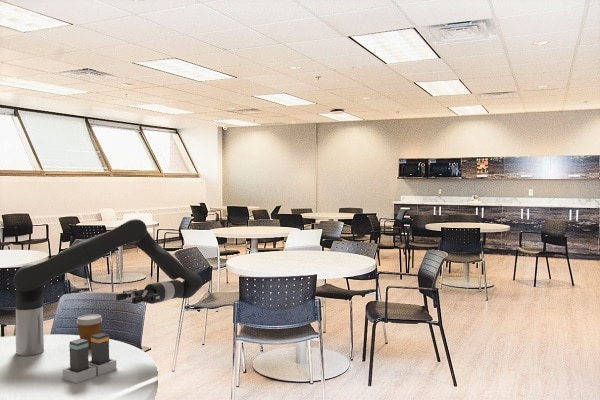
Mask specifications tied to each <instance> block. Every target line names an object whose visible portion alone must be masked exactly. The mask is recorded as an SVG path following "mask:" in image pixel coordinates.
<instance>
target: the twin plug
mask: <svg viewBox="0 0 600 400" xmlns="http://www.w3.org/2000/svg"><path fill="white" fill-rule="evenodd" d="M68 346H69V367H70V371H73V372H76V373H78V372H81V371H83V370H86V369H89V361H90V360H89V350H88V340H84V339H80V338H77V339H75V340H72V341H71V340H70V341H69V345H68Z"/></svg>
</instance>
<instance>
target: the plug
mask: <svg viewBox="0 0 600 400" xmlns="http://www.w3.org/2000/svg"><path fill="white" fill-rule="evenodd" d="M90 350H91V351H90V352H91V355H90V357H91V360H92V363H93V364H96V365H101V364H104V363H107V362H109V358H110V334H108V333H105V332H100V333H98V334H94V335H91V349H90Z"/></svg>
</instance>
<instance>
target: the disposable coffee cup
mask: <svg viewBox="0 0 600 400" xmlns="http://www.w3.org/2000/svg"><path fill="white" fill-rule="evenodd" d="M102 321H103V318H102V315H101V314H96V313H93V314H92V313H88V314H84V315H79V316H78V317H77V320H76V324H77V327H78V334H79V339H84V340H88V351H89V350H91V335H94V334H98V333H101V328H102Z"/></svg>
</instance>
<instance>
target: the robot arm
mask: <svg viewBox="0 0 600 400" xmlns="http://www.w3.org/2000/svg"><path fill="white" fill-rule="evenodd" d="M130 243H131V244H132V245H134V247H137V248H139V249H140V250H141V251H142V252H144V254H145V255H146V256H148V257H149V258H150V259H151V260H152V262H153V263H154V264H155V265H156V266H157V267H158V268H159V269H160V270H161V271H162V272H163V273H164V274H165V275H166V276H168V278H169V279H171V280H166V281H159V282H153V283H147V284H146V285H145V287H144V288H140V289H137V288H134V289H128V290H123V291H122V293H117V294H116V298H115V299H116V301H118V302H119V301H123V300H131V304H133V305H135V304H140V303H142V304H145V303H146V304H151V305H154V304H157V303H162V302H166V301H170V300H174V299H184V300H186V299H189V298H191V297H193V296H194V295H196V293H197V292H198V291H200V289H202V287H203V280H202V277H201V276H200V275H199V274H198V273H196V272H195V271H192V270H190V269H189V268H187V267H185V266H184V265H183V264H182V263H181V262H180V261H178V260H177V259H176V258H175V257H174V256H173V255H172V254H171V253H170V252H169V251H167V250H166V249H165V248H163V247H162V246H161V245H160V244H159V243H158V242H157V241H156V240H155V239H154V238H153V237H152V234H150V233H149V231H148V229H147V225H146V224H145V222H144V221H143V220H141V219H139V218H133V219H129V220H127V221H125V222H124V223H122V224H120V225H118V226H117V227H115V228H113V229H110V230H108V231H107V232H104V233H100V234H97V235H95V236H93V237H92V236H91V237H89V238H87V239H85V240H82V241H80V242H77V243H75V244H74V245H71V246H69V247H67V248H66V249H64V250H61V251H60V252H59V253H57V254H55V255H54V256H52V257H50V258H49V259H46V260H44V261H41V262H38V263H36V264H31V263H29V264H25V265H22V266H20V268H19V269H18V270H17V271H16V272H15V274H14V277H13V284H14V287H15V290H16V291H15V325H16V326H15V352H16V355H17V356H21V357H22V356H23V357H26V356H28V357H29V356H34V355H35V356H36V355H39V354H41V353H44V350H45V345H44V344H45V341H44V340H45V339H44V338H45V337H44V335H45V334H44V284H46V283H47V282H50V281H52V280H53V279H56V278H57V277H60V276H62V275H65V274H68V273H71V272H73V271H76V270H78V269H81V268H83V267H86V266H88V265H90V264H93V263H95V262H97V261H99V260H100V259H102V258H103V257H106V255H108V254H110V253H111V252H112V251H114V250H115V249H116V250H117V249H118V248H120V247H122V246H125V245H128V244H130ZM179 279H181V280H183V281H180V280H179Z"/></svg>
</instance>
